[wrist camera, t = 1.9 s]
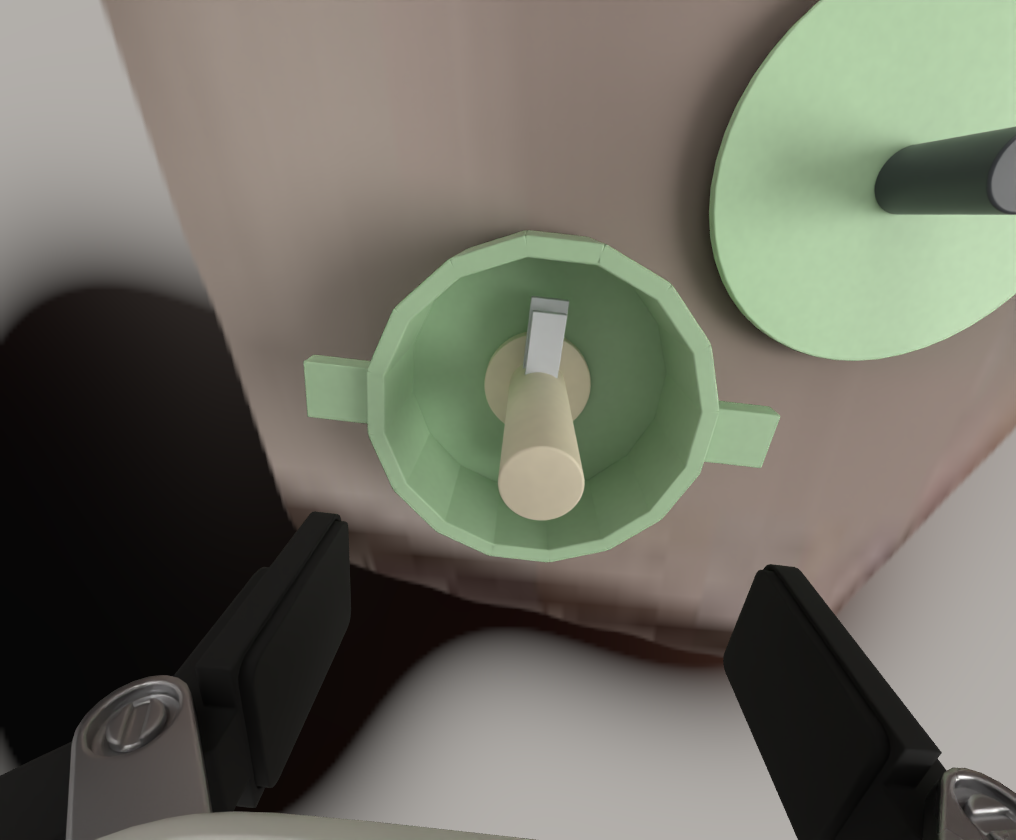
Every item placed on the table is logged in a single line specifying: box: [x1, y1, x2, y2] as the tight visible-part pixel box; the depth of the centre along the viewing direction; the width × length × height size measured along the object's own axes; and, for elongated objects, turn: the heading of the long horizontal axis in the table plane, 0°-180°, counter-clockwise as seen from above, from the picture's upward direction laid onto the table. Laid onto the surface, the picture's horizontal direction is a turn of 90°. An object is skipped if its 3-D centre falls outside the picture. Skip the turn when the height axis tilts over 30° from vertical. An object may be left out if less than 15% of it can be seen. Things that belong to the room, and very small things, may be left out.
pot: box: [303, 230, 780, 562], centre depth 21 cm, size 13×19×6 cm
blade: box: [484, 296, 591, 520], centre depth 18 cm, size 8×5×10 cm, turn 174°
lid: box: [709, 0, 1016, 361], centre depth 16 cm, size 14×14×6 cm
